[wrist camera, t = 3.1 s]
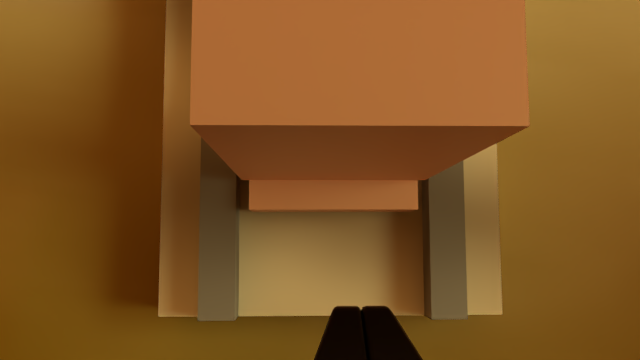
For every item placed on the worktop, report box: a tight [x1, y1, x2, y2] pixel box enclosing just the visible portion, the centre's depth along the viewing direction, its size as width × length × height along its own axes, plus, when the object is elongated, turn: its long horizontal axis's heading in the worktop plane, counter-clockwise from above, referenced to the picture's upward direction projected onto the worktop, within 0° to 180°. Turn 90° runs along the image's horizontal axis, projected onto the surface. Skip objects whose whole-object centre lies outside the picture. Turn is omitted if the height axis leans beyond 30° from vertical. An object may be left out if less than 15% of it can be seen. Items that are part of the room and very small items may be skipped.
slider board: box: [158, 0, 502, 321], centre depth 19 cm, size 18×10×3 cm, turn 0°
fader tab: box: [190, 0, 530, 212], centre depth 13 cm, size 4×5×9 cm
